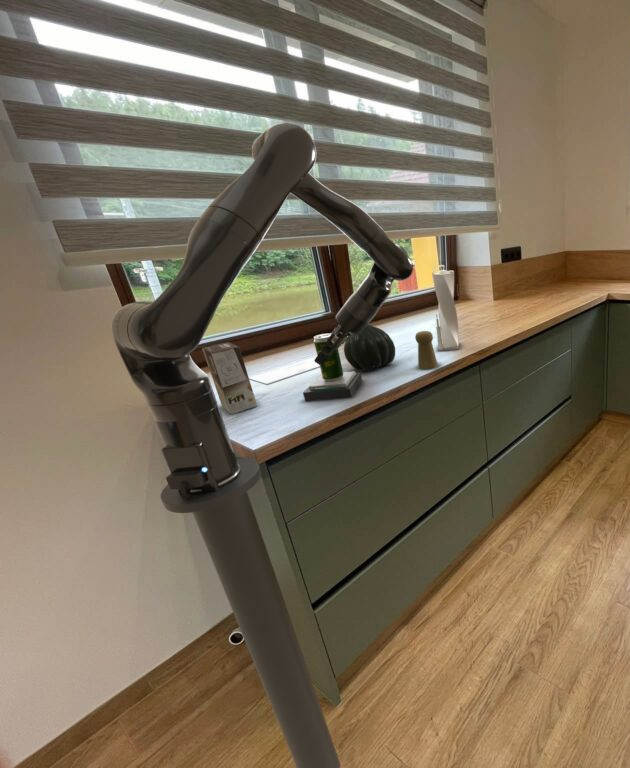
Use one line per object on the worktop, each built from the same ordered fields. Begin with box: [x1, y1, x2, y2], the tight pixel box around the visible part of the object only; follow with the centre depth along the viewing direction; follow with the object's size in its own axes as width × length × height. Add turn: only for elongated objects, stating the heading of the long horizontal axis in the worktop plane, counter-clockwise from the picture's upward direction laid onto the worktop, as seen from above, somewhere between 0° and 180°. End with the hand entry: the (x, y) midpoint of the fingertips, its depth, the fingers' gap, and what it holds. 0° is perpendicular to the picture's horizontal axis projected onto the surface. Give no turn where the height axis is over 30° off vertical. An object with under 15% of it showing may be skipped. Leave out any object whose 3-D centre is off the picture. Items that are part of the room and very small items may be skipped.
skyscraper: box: [431, 264, 460, 352], centre depth 146 cm, size 8×8×28 cm
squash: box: [343, 324, 396, 372], centre depth 133 cm, size 14×15×15 cm
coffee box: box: [201, 341, 258, 415], centre depth 108 cm, size 9×6×16 cm
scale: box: [302, 371, 363, 402], centre depth 116 cm, size 12×12×4 cm
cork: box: [414, 330, 439, 370], centre depth 130 cm, size 6×6×11 cm
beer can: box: [313, 332, 344, 382], centre depth 114 cm, size 5×5×12 cm
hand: (322, 358), depth 114 cm, fingers open, 6 cm apart
